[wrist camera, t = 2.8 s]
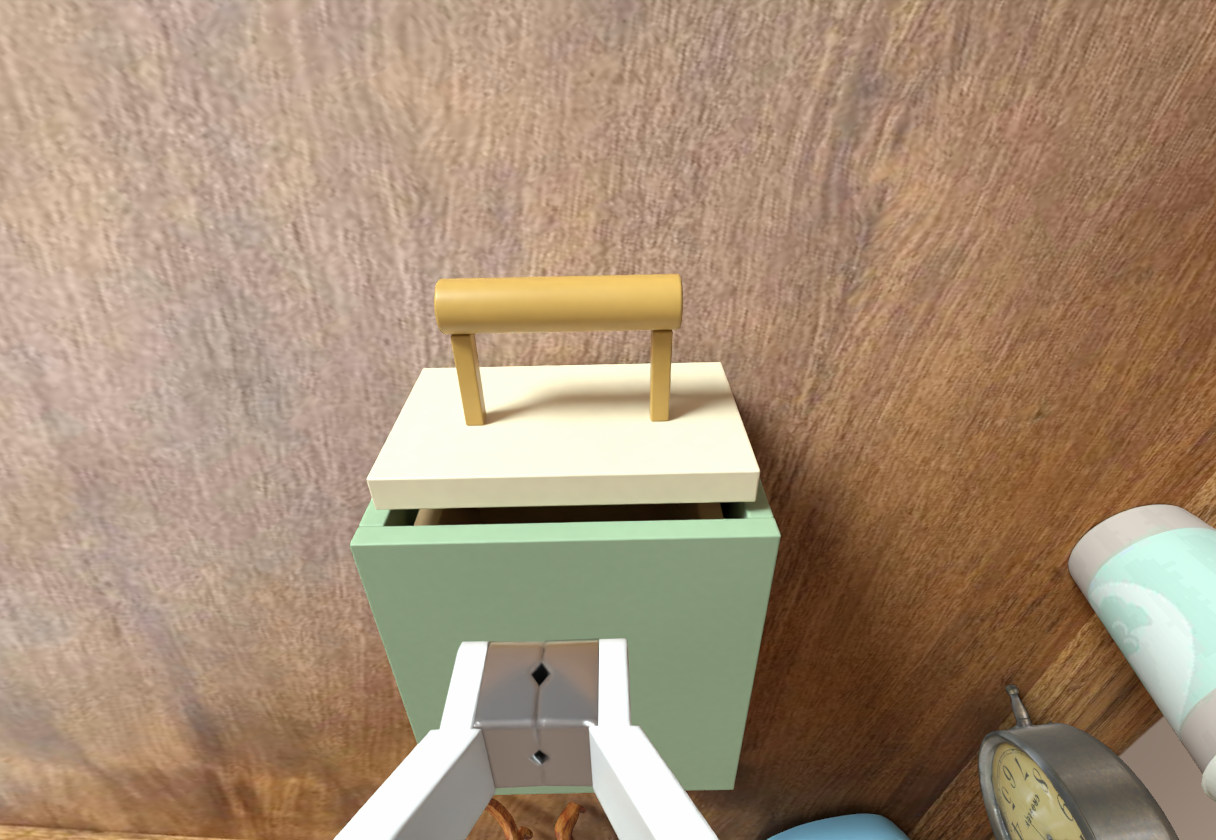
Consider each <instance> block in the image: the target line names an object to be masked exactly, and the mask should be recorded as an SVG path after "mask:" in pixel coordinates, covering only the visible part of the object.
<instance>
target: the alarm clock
mask: <svg viewBox="0 0 1216 840" xmlns="http://www.w3.org/2000/svg"><path fill="white" fill-rule="evenodd" d="M1006 692H1007V693H1008V694H1009V695H1010V696H1011V704H1012V709H1013V712H1014V715H1015V718H1016V721H1017V724H1016V725H1015V726H1014V727H1012V728H1011V729H1007V730H997V731H992V732H990V733H988V734H987V735H986V736H985V738H984V739H983V741H982V743H981V746H980V749H979V755H978V771H979V781H980V787H981V792H982V795H983V800H984V804H985V808H986V812H987V815H988V818H989V821H990V825H991V828H992V830H993V833H994V836H995V838H996V840H1179V839H1178V837H1177V835H1176V833H1175V831H1174V829H1173V828H1172V826H1171V824H1170V822H1169V821H1168V819H1167V817H1166V816H1165V814H1164V812H1163V811H1162V809H1161V808H1160V806H1159V805H1158V803H1157V802H1156V800H1155V799H1154V798H1153V796H1152V795H1151V793H1150V792H1149V791H1148V789H1147V788H1146V787H1145V785H1144V784H1143V783H1142V782H1141V780H1140V779H1139V778H1138V777H1137V776H1136V775H1135V773H1134V772H1133V771H1132V770H1131V769H1130V768H1129V767H1128V766H1127V765H1126V764H1125V763H1124V762H1123V760H1121V759H1120V758H1119V757H1118V756H1117V755H1116V754H1115V753H1114V752H1113V751H1112V750H1110V749H1109V748H1108V747H1107V746H1106V745H1104V744H1103V743H1102V742H1100V741H1099V740H1097V739H1096V738H1094V737H1093V736H1091V735H1090V734H1088V733H1086V732H1084V731H1082V730H1080V729H1078V728H1075V727H1073V726H1070V725H1067V724H1062V723H1052V722H1051V721H1050V722H1049V723H1047V724H1040V725H1033V724H1032V722H1031V721H1030V718H1029V715H1028V712H1027V710H1026V709H1025V707H1024V705H1023V703H1022V701H1021V700H1020V698H1019V696H1018V693H1019V690H1018V688H1017V687H1016V686H1015V685H1008V686H1007V687H1006Z"/></svg>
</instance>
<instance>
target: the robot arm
mask: <svg viewBox="0 0 1216 840" xmlns="http://www.w3.org/2000/svg"><path fill="white" fill-rule="evenodd" d="M535 786H593V790H594V792H595V794H596V796H597V798H598V800H599V802H600V804H601V805H602V807H603V809H604V811H605V813H606V815H607V817H608V819H609V821H610V823H611V825H612V827H613V829H614V831H615V832H616V834H617V836H618V838H619V840H719V839H718V837H717V836H716V834H715V833H714V832H713V830H712V829H711V827H710V826H709V824H708V823H707V821H706V820H705V819H704V817H703V816H702V814H701V813H700V811H699V810H698V809H697V807H696V806H695V804H694V803H693V801H692V800H691V798H690V797H689V796H688V794H687V793H686V791H685V790H684V788H683V787H682V785H681V784H680V783H679V781H678V780H677V778H676V777H675V775H674V774H673V772H672V771H671V770H670V768H669V767H668V765H667V764H666V762H665V761H664V760H663V758H662V757H661V755H660V754H659V752H658V751H657V749H656V748H655V747H654V745H653V744H652V742H651V741H650V739H649V738H648V736H647V735H646V734H645V732H644V731H643V729H642V728H641V726H634V725H632V724H631V701H630V678H629V655H628V642H627V638H618V639H599V638H593V639H565V640H545V641H467V642H462V643H461V645H460V647H459V649H458V652H457V656H456V661H455V665H454V669H453V673H452V678H451V682H450V686H449V690H448V695H447V699H446V703H445V708H444V712H443V716H442V720H441V725H440V729H437V730H430V731H429V733H428V734H427V735H426V736H425V737H424V738H423V739H422V740H421V742H420V743H419V744H418V745H417V746H416V747H415V748H414V749H413V751H412V752H411V753H410V754H409V755H408V756H407V757H406V758H405V760H404V761H403V762H402V763H401V764H400V765H399V766H398V767H397V769H396V770H395V771H394V772H393V773H392V774H391V775H390V776H389V778H388V779H387V780H386V781H385V782H384V783H383V784H382V785H381V787H380V788H379V789H378V790H377V791H376V792H375V793H374V794H373V796H372V797H371V798H370V799H369V800H368V801H367V802H366V803H365V805H364V806H363V807H362V808H361V809H360V810H359V811H358V812H357V814H356V815H355V816H354V817H353V818H352V819H351V820H350V821H349V822H348V824H347V825H346V826H345V827H344V828H343V829H342V830H341V831H340V833H339V834H338V835H337V836H336V837H335V838H334V839H333V840H465V839H466V837H467V836H468V834H469V833H470V831H471V830H472V828H473V827H474V825H475V823H476V822H477V820H478V819H479V817H480V816H481V814H482V813H483V811H484V809H485V808H486V806H487V805H488V803H489V802H490V800H491V799H492V797H493V795H494V794H495V792H496V791H495V788H515V787H535Z"/></svg>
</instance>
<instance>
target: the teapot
mask: <svg viewBox="0 0 1216 840" xmlns="http://www.w3.org/2000/svg"><path fill="white" fill-rule="evenodd" d="M767 840H911V839H910V838H909V837H908V836H907V835H906V834H905V833H904V832H903V831H901V830H900V829H899V828H898V827H897V826H896V825H895V824H894V823H893V822H892V821H890V820H889V819H887V818H886V817H883V816H881V815H876V814H852V815H845V816H838V817H832V818H827V819H822V820H817V821H813V822H810V823H806V824H803V825H799V826H796V827H794V828H791V829H788V830H786V831H784V832H781V833H779V834H777V835H774V836H772V837H770V838H768V839H767Z"/></svg>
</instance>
